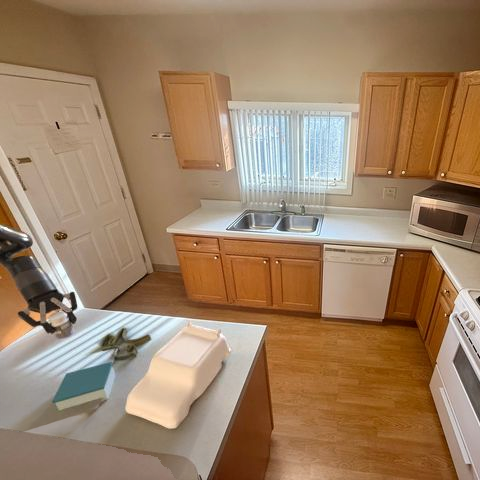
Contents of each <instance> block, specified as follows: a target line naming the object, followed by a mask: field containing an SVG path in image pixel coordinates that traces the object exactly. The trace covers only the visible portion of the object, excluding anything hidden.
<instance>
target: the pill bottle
mask: <svg viewBox="0 0 480 480" xmlns="http://www.w3.org/2000/svg"><path fill="white" fill-rule="evenodd" d="M47 319H48V323H49V324H50V326H51V327H52V329H53V330H54V333H53V335H54V337H55V339H56V340H58V341H62V340H63V341H64V340H66V339H68V338H71V337H72V336H73V335H75V332H76V331H75V328H74V324H72V323H71V321H70V319H69V317H68V316H67V314H66V313H65V312H63V311H57V312H54V313H52V314H51V315H49V316H48V318H47Z"/></svg>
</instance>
